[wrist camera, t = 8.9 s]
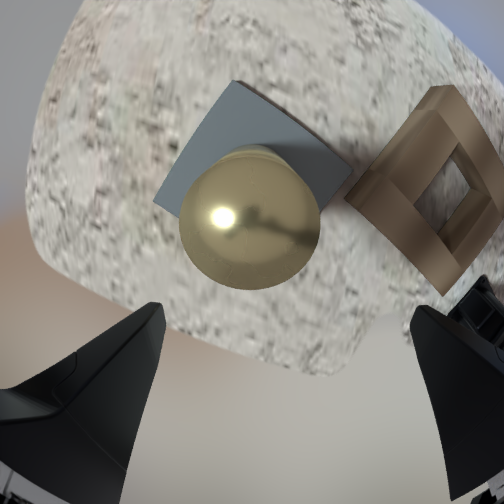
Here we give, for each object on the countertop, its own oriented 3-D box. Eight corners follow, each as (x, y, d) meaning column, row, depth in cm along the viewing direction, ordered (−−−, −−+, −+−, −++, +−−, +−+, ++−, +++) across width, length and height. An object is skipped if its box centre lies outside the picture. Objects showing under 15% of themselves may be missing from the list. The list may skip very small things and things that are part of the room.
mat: (351, 168, 18) (353, 169, 17) (266, 271, 21) (266, 274, 21) (233, 80, 15) (232, 79, 15) (155, 199, 19) (152, 201, 18)
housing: (496, 187, 17) (516, 196, 14) (427, 279, 21) (442, 296, 19) (430, 86, 14) (453, 84, 11) (344, 198, 19) (358, 211, 16)
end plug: (305, 173, 17) (347, 215, 9) (260, 230, 19) (264, 310, 11) (243, 129, 16) (230, 127, 8) (200, 190, 18) (156, 244, 10)
